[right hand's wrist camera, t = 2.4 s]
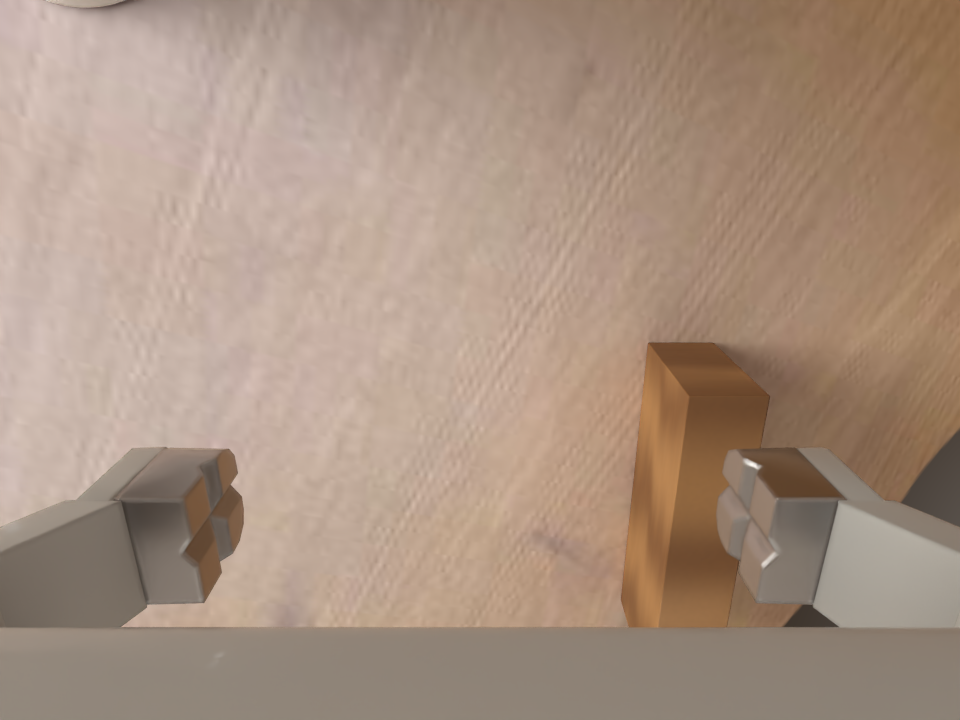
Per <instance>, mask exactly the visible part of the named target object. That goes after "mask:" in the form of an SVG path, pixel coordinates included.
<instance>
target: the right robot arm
mask: <svg viewBox="0 0 960 720" xmlns="http://www.w3.org/2000/svg"><path fill="white" fill-rule="evenodd" d="M45 1H48V2H51V3H55V4H59V5H64V6H69V7H78V8H94V7H103V6H108V5H113V4H116V3H120V2H123V1H125V0H45ZM237 474H238V471H237V466H236V461H235V456H234V454H233V453H232V452H231V451H230V450H229V449H210V448H166V447H150V448H134V449H131V450H130V451H129V452H128V453H127V454H126V455H125V456H123V457H122V458H121V459H120V460H119V461H118V462H117V463H116V464H115V465H114V466H113V467H111V468H110V469H109V470H108V471H107V472H106V473H105V474H104V475H103V476H102V477H101V478H99V479H98V480H97V481H96V482H95V483H94V484H93V485H92V486H91V487H90V488H89V489H88V490H86V491H85V492H84V493H83V494H82V495H81V496H80V497H79V498H78V499H77V500H75V501H63V502H61V503H58V504H56V505H53V506H51V507H48V508H46V509H43V510H41V511H38V512H36V513H33V514H31V515H29V516H26V517H24V518H21V519H19V520H16V521H14V522H11V523H9V524H6V525H4V526H2V527H0V720H960V527H958V526H956V525H953V524H951V523H949V522H946V521H944V520H941V519H939V518H936V517H934V516H931V515H929V514H926V513H924V512H922V511H919V510H917V509H914V508H912V507H909V506H907V505H904V504H902V503H899V502H897V501H885V500H883V499H882V498H881V497H880V496H879V495H878V494H877V493H876V492H875V491H874V490H873V489H871V488H870V487H869V486H868V485H867V484H866V483H865V482H864V481H863V480H862V479H861V478H860V477H858V476H857V475H856V474H855V473H854V472H853V471H852V470H851V469H850V468H849V467H848V466H847V465H845V464H844V463H843V462H842V461H841V460H840V459H839V458H838V457H837V456H836V455H835V454H834V453H832V452H831V451H830V450H829V449H826V448H823V447H808V448H760V449H733V450H729V451H728V453H727V455H726V457H725V459H724V465H723V470H722V474H723V475H724V477H725V478H726V480H727V481H728V483H729V486H728V487H727V488H726V489H725V490H724V491H723V492H722V493H721V494H720V495H719V496H718V502H717V510H716V520H717V531H718V534H719V537H720V540H721V543H722V545H723V547H724V549H725V550H726V552H727V554H729V555H731V556H732V557H734V558H735V559H737V560H739V561H740V565H739V571H738V573H739V575H740V577H741V578H742V580H743V582H744V583H745V585H746V587H747V588H748V590H749V592H750V594H751V595H752V597H753V599H754V600H755V602H756V603H774V604H811V605H813V608H815V609H816V610H818V611H819V612H820V613H822V614H823V615H824V616H826V617H827V618H828V619H830V620H831V621H832V622H834V623H835V624H836V625H838V626H839V627H121V626H123V625H124V624H125V623H127V622H128V621H129V620H131V619H132V618H133V617H135V616H136V615H137V614H139V613H140V612H141V611H143V610H144V609H145V608H147V605H149V604H185V603H204V602H205V601H206V599H207V597H208V595H209V594H210V592H211V590H212V589H213V587H214V585H215V583H216V582H217V580H218V578H219V577H220V575H221V573H222V571H221V565H220V561H221V560H223V559H225V558H226V557H228V556H229V555H231V554H233V552H234V550H235V548H236V547H237V545H238V543H239V541H240V537H241V533H242V528H243V524H244V508H243V501H242V496H241V495H240V494H239V493H238V492H237V491H236V490H235V489H234V488H233V487H232V486H231V483H232V481H233V480H234V478H235V477H236V475H237Z"/></svg>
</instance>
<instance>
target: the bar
mask: <svg viewBox="0 0 960 720" xmlns="http://www.w3.org/2000/svg"><path fill="white" fill-rule="evenodd" d="M769 399H770V396H769V395H768V394H767V393H766V392H765V391H764V390H763V389H762V388H761V387H760V386H759V385H758V384H756V383H755V382H754V381H753V380H752V379H751V378H750V377H749V376H748V375H747V374H746V373H745V372H744V371H743V370H742V369H741V368H739V367H738V366H737V365H736V364H735V363H734V362H733V361H732V360H731V359H730V358H729V357H728V356H727V355H726V354H725V353H724V352H723V351H721V350H720V349H719V348H718V347H717V346H716V345H715V344H714V343H648V349H647V359H646V368H645V377H644V387H643V396H642V406H641V415H640V425H639V434H638V444H637V453H636V463H635V472H634V482H633V491H632V501H631V510H630V520H629V529H628V539H627V548H626V557H625V567H624V576H623V586H622V595H621V602H622V605H623V609H624V612H625V615H626V619H627V622H628V626H629V627H727V623H728V618H729V613H730V607H731V602H732V597H733V591H734V586H735V581H736V575H737V570H738V565H739V560H737V559H735V558H734V557H732V556H731V555H729V554H727V552H726V550H725V549H724V547H723V545H722V543H721V540H720V537H719V534H718V531H717V520H716V510H717V502H718V496H719V495H720V494H721V493H722V492H723V491H724V490H725V489H726V488H727V487H728V486H729V483H728V481H727V480H726V478H725V477H724V475H723V474H722V470H723V465H724V459H725V457H726V455H727V453H728V451H729V450H733V449H760V447H761V442H762V436H763V431H764V426H765V420H766V415H767V410H768V404H769Z"/></svg>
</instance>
